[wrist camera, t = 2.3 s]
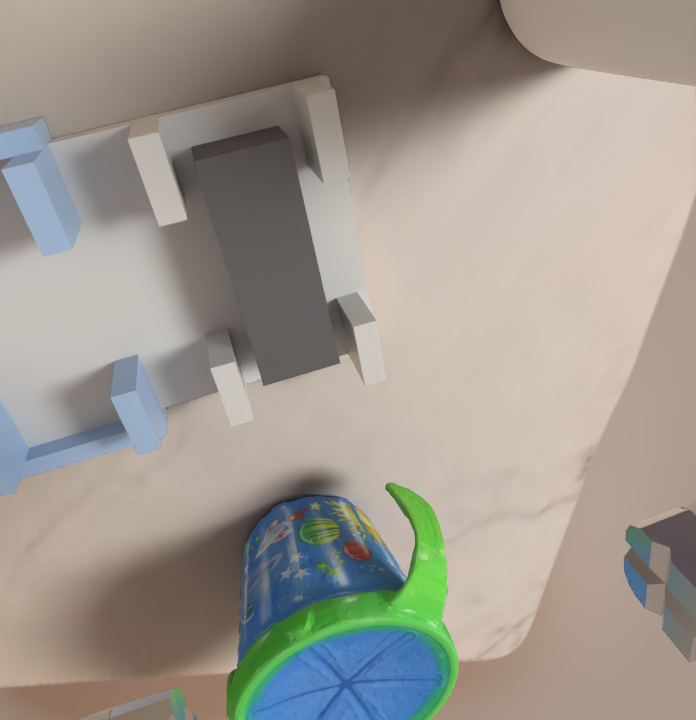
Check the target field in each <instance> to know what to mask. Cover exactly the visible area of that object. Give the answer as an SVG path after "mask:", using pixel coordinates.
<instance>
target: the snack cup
mask: <svg viewBox="0 0 696 720" xmlns="http://www.w3.org/2000/svg"><path fill="white" fill-rule="evenodd" d="M386 490H387V491H388V492H389V493H390V495H391V496H392V497H393V498H394V499H395V501H396V502H397V504H398V506H399V507H400V509H401V510H402V512H403V513H404V515H405V516H406V517H407V518H408V519H409V521H410V523H411V525H412V528H413V530H414V534H415V548H414V551H413V555H412V560H411V564H410V569H409V573H408V578H407V577H406V576H405V574H404V573H403V571H402V569H401V568H400V566H399V565H398V563H397V561H396V560H395V558H394V557H393V555H392V554H391V552H390V551H389V549H388V548H387V546H386V544H385V543H384V541H383V540H382V539H381V537H380V535H379V534H378V532H377V531H376V529H375V528H374V526H373V524H372V523H371V521H370V520H369V518H368V517H367V516H366V515H365V514H364V513H363V512H362V511H361V510H359V509H358V508H357V507H356V506H354V505H353V504H352V503H351V502H349V501H348V500H347V499H346V498H342V497H339V496H337V497H326V496H312V497H303V498H300V499H297V500H294V501H291V502H282V503H280V504H278V505H276V506H274V507H272V510H271V511H270V512H269V513H268V514H267V515H266V516H265V517H264V518H263V519H261V520H259V521H258V523H257V525H256V527H255V528H254V529H253V531H252V532H251V534H250V536H249V539H248V541H247V543H246V545H245V547H244V552H243V557H242V559H243V562H242V563H243V564H242V572H241V592H240V622H239V646H238V663H237V669H235V670H233V671H232V672H231V673H230V674H229V677H228V680H227V716H228V718H229V719H230V720H431V719H432V717H433V716H434V715H435V714H436V713H437V712H438V711H439V709H440V708H441V707H442V706H443V705H444V703H445V702H446V700H447V698H448V697H449V695H450V693H451V691H452V689H453V687H454V684H455V682H456V678H457V674H458V656H457V652H456V649H455V646H454V644H453V641H452V639H451V637H450V634H449V632H448V630H447V628H446V626H445V625H444V623H443V622H442V617H443V616H442V613H443V610H444V605H445V599H446V594H447V593H448V589H447V559H446V554H445V546H444V541H443V537H442V533H441V529H440V525H439V522H438V520H437V517H436V515H435V512H434V510H433V509H432V507H431V506H430V505H429V504H428V503H427V502H426V501H425V500H424V499H423V498H421V497H420V496H419V495H417V494H416V493H414V492H413V491H411V490H409V489H407V488H404V487H401V486H398V485H396V484H394V483H388V484H386Z"/></svg>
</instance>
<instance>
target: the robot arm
mask: <svg viewBox="0 0 696 720" xmlns="http://www.w3.org/2000/svg"><path fill="white" fill-rule="evenodd" d="M626 541H627V542H628V544H630V546H631V549H630V550H629V551H628V552H627V554H626V555H625V557H624V572H625V574H626V577H627V580H628V583H629V586H630V587H631V589H632V591H633V592H634V594H635V596H636V597H637V599H638V600H639V601H640V602H641V603H642V605H643V606H644V607H645V608H646V609H648V610H650V611H652V612H654V613H657V614H659V615H661V616H662V630H663V631H664V632H665V633H666V635H667V636H668V637H669V638H670V640H671V641H672V642H673V643H674V644H675V646H676V647H677V648H678V649H679V651H680V652H681V653H682V654H683V655H684V657H685V658H686V659H687V660H688V662H692V661H695V660H696V502H693V503H691V504H688V505H686V506H683V507H680V508H675V509H672V510H669V511H667V512H664V513H661V514H659V515H656V516H653V517H650V518H648V519H645V520H642V521H640V522H637V523H634V524H632V525H630V526H629V527H628V529H627V530H626ZM184 699H185V698H184V696H183V694H182V692H181V691H180V689H179V688H178V686H176V687H173V688H170V689H167V690H164V691H161V692H158V693H156V694H152V695H149V696H147V697H143V698H140V699H137V700H135V701H132V702H129V703H126V704H123V705H120V706H117V707H113V708H110V709H107V710H104V711H102V712H99V713H96V714H93V715H90V716H87V717H85V718H82V719H81V720H197V718H196V716H195V715H194V713H193V712H191V711H188V710H185V700H184Z"/></svg>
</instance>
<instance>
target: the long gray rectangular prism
mask: <svg viewBox="0 0 696 720" xmlns="http://www.w3.org/2000/svg"><path fill="white" fill-rule="evenodd" d="M191 149H192V154H193V160H194V164H195V167H196V170H197V173H198V176H199V180H200V183H201V186H202V189H203V193H204V196H205V199H206V202H207V205H208V209H209V212H210V215H211V218H212V221H213V225H214V228H215V231H216V234H217V238H218V241H219V244H220V247H221V250H222V254H223V257H224V260H225V263H226V266H227V270H228V273H229V276H230V279H231V283H232V286H233V289H234V292H235V295H236V299H237V302H238V305H239V308H240V311H241V315H242V318H243V321H244V324H245V328H246V331H247V334H248V337H249V340H250V344H251V347H252V350H253V353H254V356H255V360H256V363H257V366H258V369H259V373H260V376H261V379H262V382H263V385H264V386H265V385H268V384H272V383H275V382H278V381H282V380H285V379H289V378H292V377H295V376H299V375H302V374H305V373H309V372H312V371H315V370H319V369H322V368H326V367H329V366H332V365H336V364H339V363H340V360H339V355H338V351H337V346H336V342H335V337H334V333H333V329H332V324H331V320H330V315H329V311H328V306H327V302H326V297H325V293H324V288H323V284H322V280H321V275H320V271H319V266H318V262H317V257H316V253H315V248H314V244H313V240H312V235H311V231H310V226H309V222H308V217H307V213H306V208H305V204H304V199H303V195H302V191H301V186H300V182H299V177H298V173H297V168H296V164H295V159H294V155H293V150H292V146H291V142H290V138H289V137H288V136H287V135H286V133H285V132H284V131H283V130H282V129H281V128H280V127H279V126H274V127H270V128H266V129H262V130H258V131H254V132H250V133H246V134H241V135H237V136H233V137H229V138H225V139H221V140H217V141H213V142H209V143H205V144H201V145H197V146H193V147H191Z"/></svg>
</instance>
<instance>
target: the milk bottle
mask: <svg viewBox="0 0 696 720" xmlns="http://www.w3.org/2000/svg"><path fill="white" fill-rule="evenodd" d="M500 3H501V7H502V11H503V14H504V16H505V18H506V21H507V23H508V25H509V27H510V28H511V30H512V32H513V34H514V35H515V36H516V38H517V39H518V40H519V41H520V43H521V44H522V45H523V46H524V47H525V48H526V49H528V50H529V51H530V52H531V53H533V54H534V55H536V56H537V57H539V58H541V59H543V60H546V61H549V62H552V63H556V64H560V65H564V66H569V67H575V68H581V69H587V70H593V71H599V72H605V73H612V74H618V75H624V76H631V77H637V78H644V79H650V80H656V81H663V82H670V83H677V84H684V85H691V86H696V0H500Z"/></svg>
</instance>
